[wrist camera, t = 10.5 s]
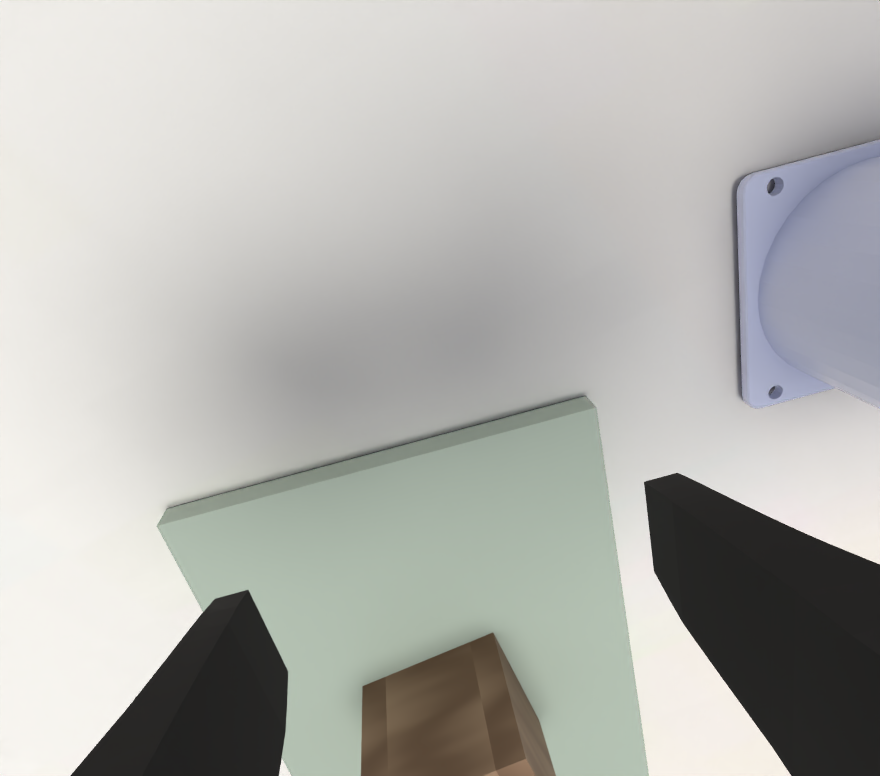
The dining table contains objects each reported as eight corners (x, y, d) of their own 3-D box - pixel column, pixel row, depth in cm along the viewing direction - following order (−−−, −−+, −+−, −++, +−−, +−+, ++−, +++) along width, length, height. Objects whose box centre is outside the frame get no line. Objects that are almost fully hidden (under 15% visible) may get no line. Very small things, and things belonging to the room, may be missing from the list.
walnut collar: (493, 632, 22) (525, 758, 17) (539, 720, 24) (579, 853, 19) (362, 686, 22) (359, 824, 17) (419, 768, 24) (430, 911, 20)
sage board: (585, 396, 19) (596, 407, 19) (640, 759, 27) (649, 780, 26) (167, 508, 19) (156, 525, 18) (341, 843, 27) (341, 867, 26)
